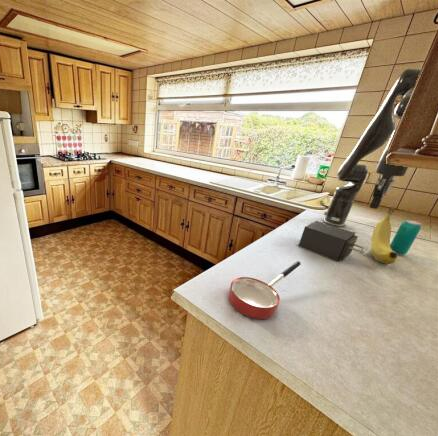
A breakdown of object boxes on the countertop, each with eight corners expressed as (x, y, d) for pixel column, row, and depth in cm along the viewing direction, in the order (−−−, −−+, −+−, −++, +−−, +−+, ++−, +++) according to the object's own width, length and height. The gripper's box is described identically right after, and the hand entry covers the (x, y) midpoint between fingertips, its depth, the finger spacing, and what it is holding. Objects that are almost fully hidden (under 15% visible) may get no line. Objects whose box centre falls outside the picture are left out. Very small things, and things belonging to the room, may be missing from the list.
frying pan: (268, 264, 89) (272, 250, 86) (306, 282, 79) (312, 266, 77) (219, 299, 69) (223, 282, 67) (262, 328, 60) (268, 309, 58)
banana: (396, 272, 88) (423, 224, 80) (376, 267, 91) (400, 220, 83) (379, 248, 106) (400, 207, 98) (363, 244, 109) (382, 204, 101)
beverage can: (397, 250, 105) (414, 220, 99) (409, 257, 100) (427, 225, 94) (383, 249, 106) (399, 218, 100) (394, 255, 100) (411, 224, 95)
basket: (365, 257, 96) (373, 240, 93) (357, 266, 89) (365, 248, 86) (315, 239, 109) (321, 224, 106) (305, 246, 102) (311, 230, 99)
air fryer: (346, 252, 101) (355, 232, 97) (337, 261, 94) (346, 240, 90) (309, 239, 111) (316, 220, 108) (298, 245, 104) (304, 226, 100)
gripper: (407, 163, 73) (382, 214, 80) (413, 161, 81) (390, 208, 87) (376, 159, 79) (355, 207, 85) (384, 158, 86) (365, 202, 93)
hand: (373, 207), depth 86 cm, fingers closed
